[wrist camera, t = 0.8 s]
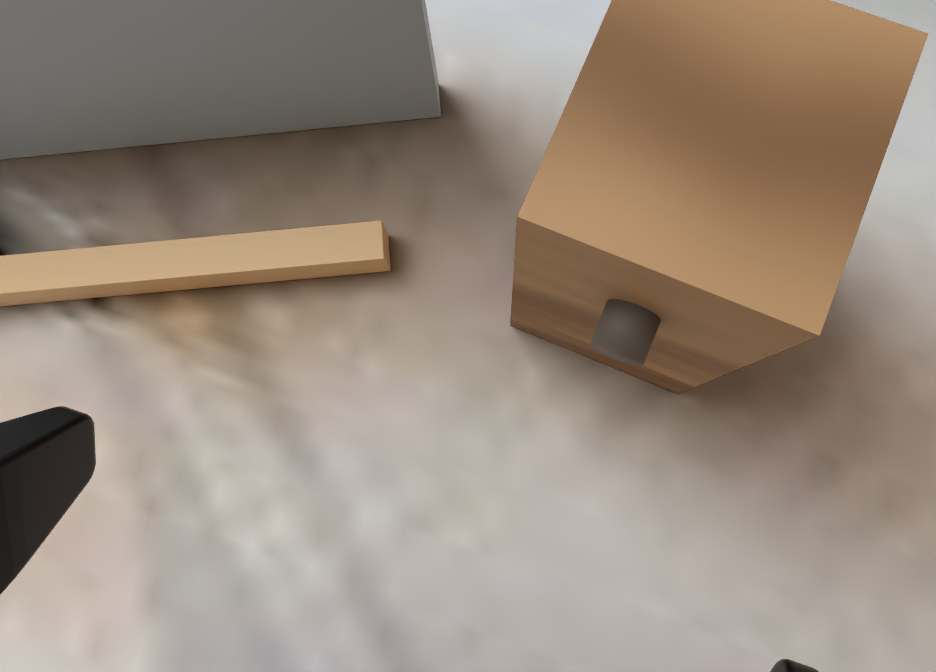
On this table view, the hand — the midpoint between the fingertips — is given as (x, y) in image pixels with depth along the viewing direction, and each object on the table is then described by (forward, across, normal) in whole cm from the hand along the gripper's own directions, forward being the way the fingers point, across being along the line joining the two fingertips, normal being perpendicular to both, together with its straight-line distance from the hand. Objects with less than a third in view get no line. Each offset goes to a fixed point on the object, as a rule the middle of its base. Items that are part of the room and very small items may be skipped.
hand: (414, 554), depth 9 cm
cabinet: (+15, -3, +2) cm, 16 cm away
